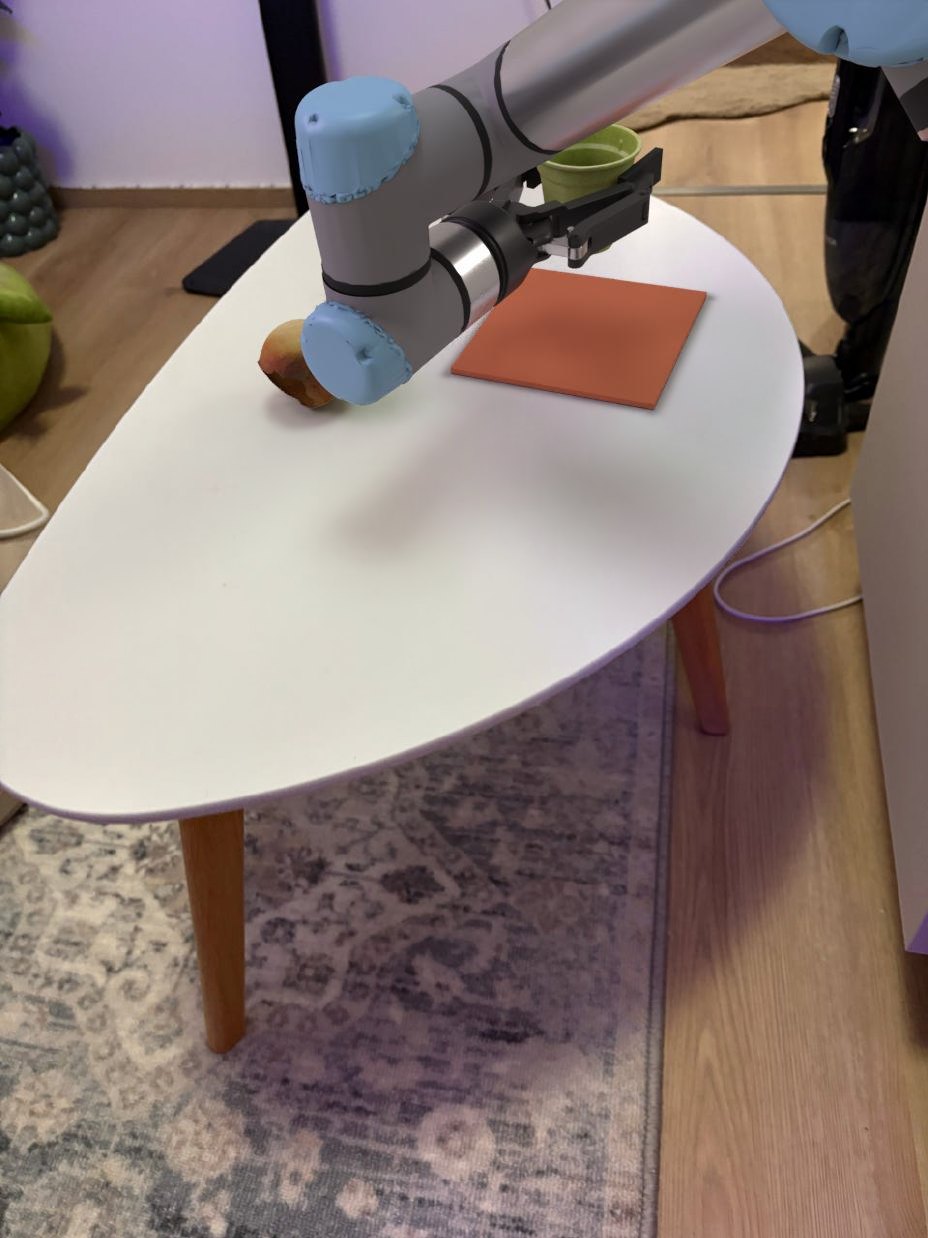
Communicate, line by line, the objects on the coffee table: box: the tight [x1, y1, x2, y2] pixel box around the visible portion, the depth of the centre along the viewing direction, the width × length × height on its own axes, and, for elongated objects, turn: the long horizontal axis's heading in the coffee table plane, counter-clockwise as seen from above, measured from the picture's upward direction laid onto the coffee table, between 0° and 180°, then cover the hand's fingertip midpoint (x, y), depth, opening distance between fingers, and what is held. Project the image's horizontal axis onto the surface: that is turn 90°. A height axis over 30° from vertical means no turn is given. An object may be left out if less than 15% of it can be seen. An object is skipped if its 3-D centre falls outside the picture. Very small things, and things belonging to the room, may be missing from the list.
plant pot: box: [537, 123, 643, 255], centre depth 83 cm, size 9×9×9 cm
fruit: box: [257, 318, 336, 409], centre depth 86 cm, size 8×8×8 cm
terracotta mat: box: [450, 267, 708, 410], centre depth 93 cm, size 20×20×1 cm
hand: (612, 153), depth 84 cm, fingers closed on plant pot, 8 cm apart
